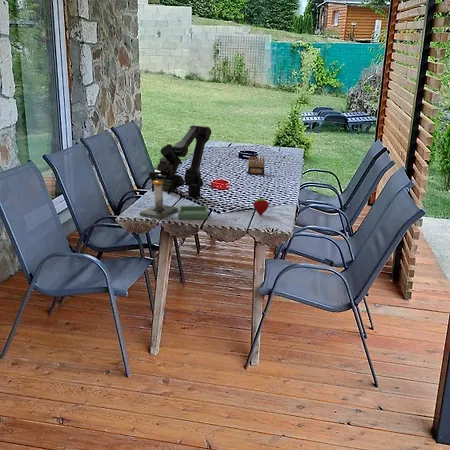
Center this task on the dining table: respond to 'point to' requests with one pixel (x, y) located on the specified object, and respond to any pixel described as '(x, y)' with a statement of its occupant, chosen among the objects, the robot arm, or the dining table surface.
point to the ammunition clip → (256, 166)
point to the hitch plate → (166, 211)
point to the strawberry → (261, 206)
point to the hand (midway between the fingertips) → (159, 192)
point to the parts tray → (193, 212)
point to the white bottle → (158, 195)
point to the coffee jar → (166, 182)
